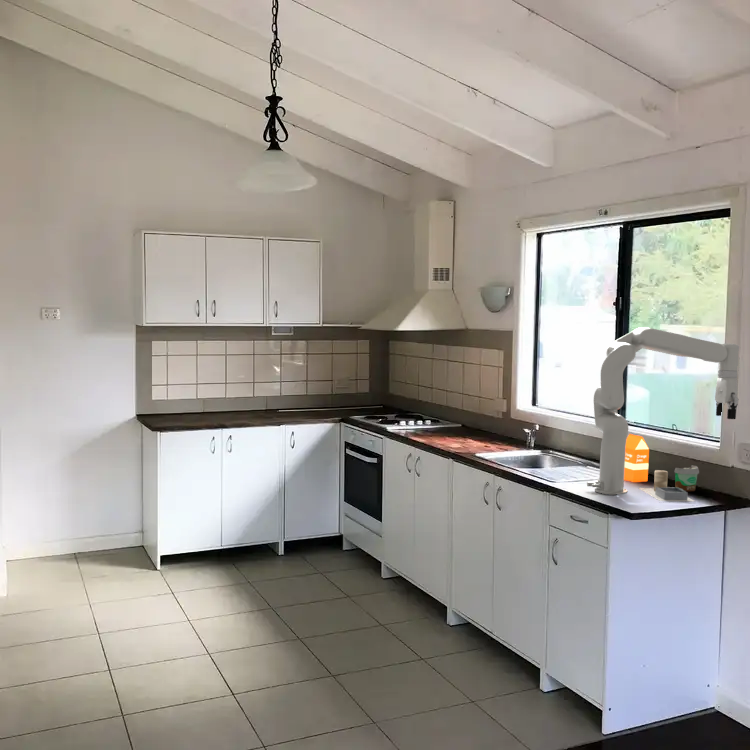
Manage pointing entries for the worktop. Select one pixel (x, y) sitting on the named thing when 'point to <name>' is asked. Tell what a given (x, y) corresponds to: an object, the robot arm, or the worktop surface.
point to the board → (652, 493)
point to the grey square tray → (671, 493)
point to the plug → (660, 479)
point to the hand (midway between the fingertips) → (725, 417)
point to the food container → (686, 478)
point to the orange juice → (636, 459)
